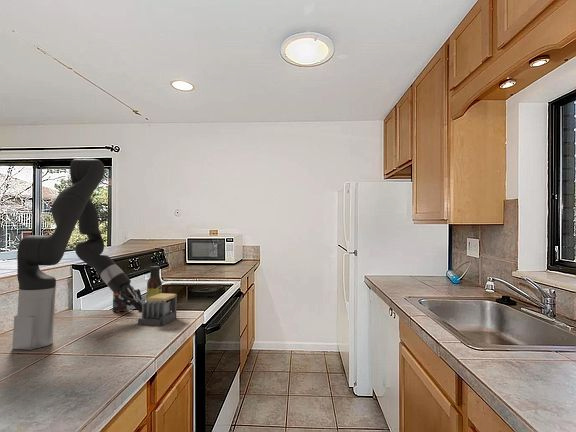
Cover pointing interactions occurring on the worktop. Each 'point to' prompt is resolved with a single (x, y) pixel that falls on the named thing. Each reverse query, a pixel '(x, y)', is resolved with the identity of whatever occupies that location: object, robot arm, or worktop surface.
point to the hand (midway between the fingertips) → (143, 310)
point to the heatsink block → (155, 309)
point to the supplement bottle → (118, 304)
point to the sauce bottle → (154, 282)
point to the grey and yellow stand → (166, 318)
